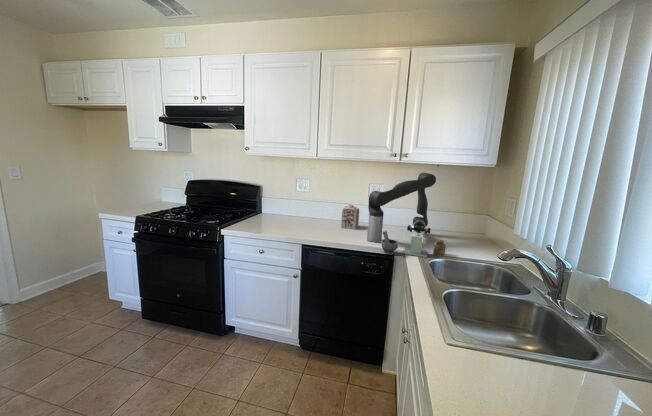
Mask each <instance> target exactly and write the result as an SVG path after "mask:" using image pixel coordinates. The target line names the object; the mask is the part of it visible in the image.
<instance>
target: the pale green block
mask: <svg viewBox="0 0 652 416" xmlns="http://www.w3.org/2000/svg"><path fill="white" fill-rule="evenodd" d="M410 237H411V239H410V247H409V248H410V253H417V254H421V249H422V244H423V243H422V242H423V237H424V236H423V234H421V233H417V232H415V233H411V236H410Z"/></svg>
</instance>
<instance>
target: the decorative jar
mask: <svg viewBox="0 0 652 416" xmlns="http://www.w3.org/2000/svg"><path fill="white" fill-rule="evenodd" d="M359 220H360V209H359V207H357V206H355V205H354V204H351V203H350V204H347V206H343V208H342V211H341V221H340V222H341V223H340V227H341V228H342V229H348V228H349V229H350V230H356V229H357V228H358V227H359V222H360V221H359Z"/></svg>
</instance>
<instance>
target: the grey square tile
mask: <svg viewBox="0 0 652 416" xmlns="http://www.w3.org/2000/svg"><path fill="white" fill-rule="evenodd" d="M402 255H405V256H409V257H410V256H411V257H417V258H423V257H425V258H424V259H427V258H428V249H423V248H421V254H417V253H410V247H408V246H405V247H404V249H403V253H402ZM418 256H419V257H418Z"/></svg>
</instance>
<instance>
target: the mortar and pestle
mask: <svg viewBox="0 0 652 416" xmlns="http://www.w3.org/2000/svg"><path fill="white" fill-rule="evenodd" d="M382 236H383V239H382V240H381V242H380V244H381V248H382V250H383V253H384V254H385V255H394V254H395V251H396V250H397V249H398V247H399V242H398V241H397V240H395V239H392V238H391V239H390V238H389V235H388V231H387V230H384V231H382Z"/></svg>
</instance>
